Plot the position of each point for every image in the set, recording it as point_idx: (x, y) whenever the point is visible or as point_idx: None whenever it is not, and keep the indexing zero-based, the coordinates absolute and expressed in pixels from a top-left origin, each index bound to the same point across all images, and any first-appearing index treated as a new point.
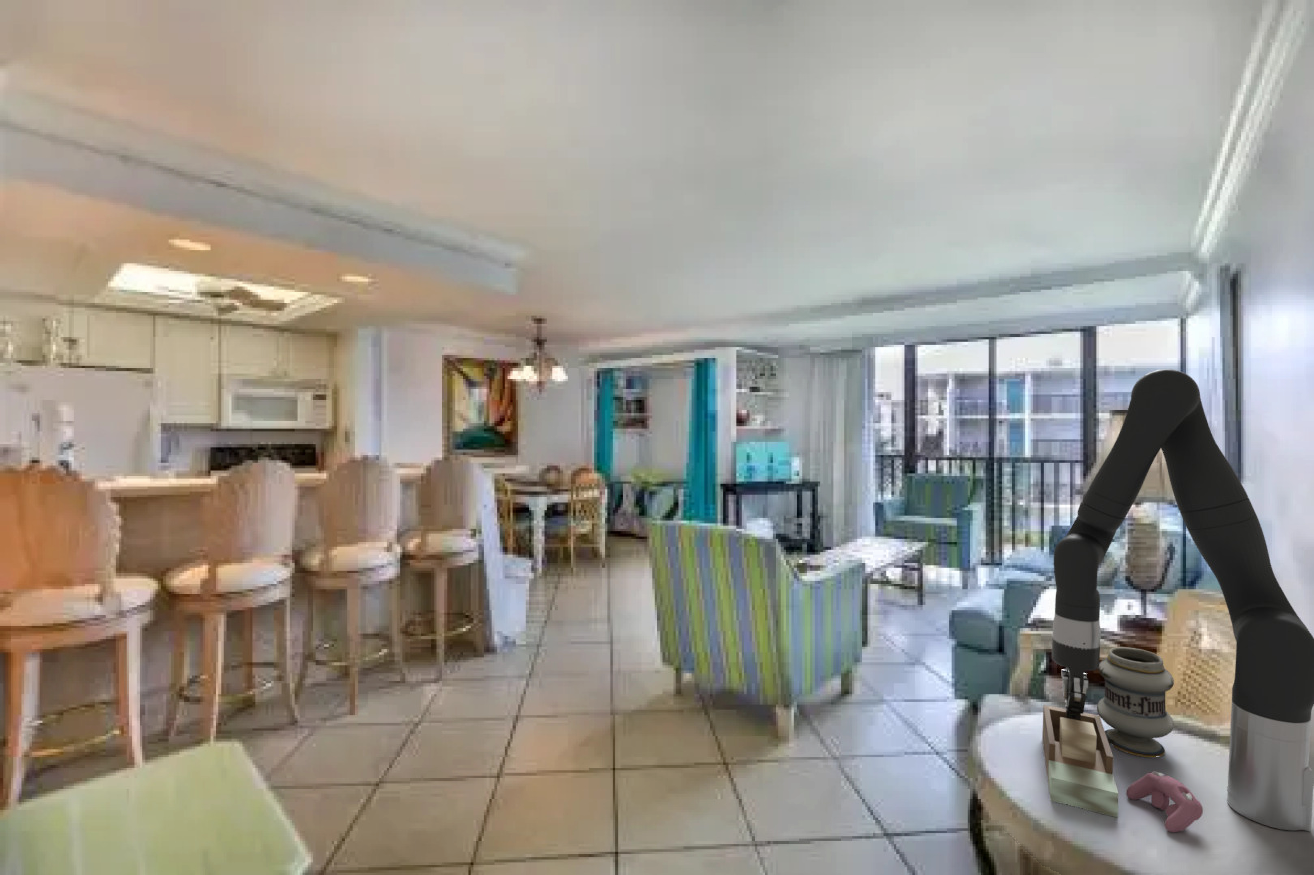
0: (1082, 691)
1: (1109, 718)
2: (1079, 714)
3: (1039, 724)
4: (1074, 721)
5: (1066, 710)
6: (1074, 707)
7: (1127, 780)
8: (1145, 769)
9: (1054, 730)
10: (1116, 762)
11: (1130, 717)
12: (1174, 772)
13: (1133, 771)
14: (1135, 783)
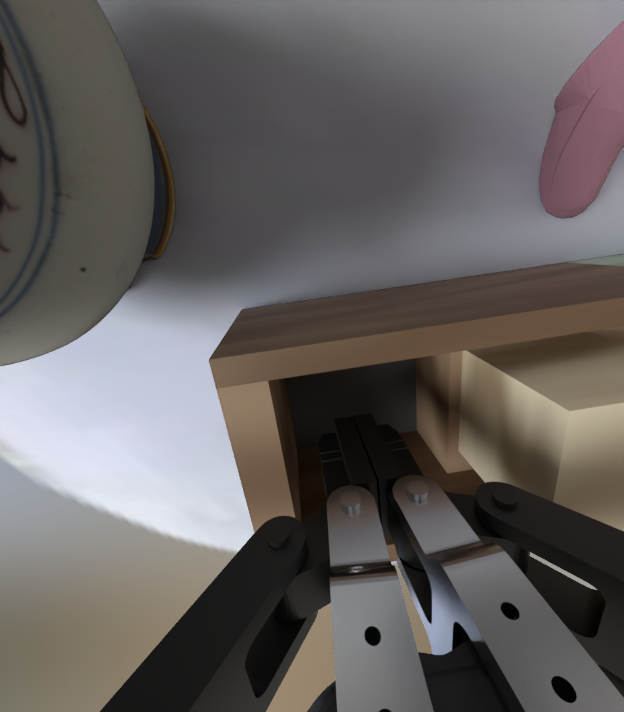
0: (555, 688)
1: (116, 297)
2: (400, 474)
3: (160, 482)
4: (580, 494)
5: (387, 532)
6: (528, 555)
7: (421, 212)
8: (284, 139)
9: (296, 465)
10: (293, 248)
11: (79, 157)
12: (229, 3)
13: (333, 188)
14: (602, 180)
